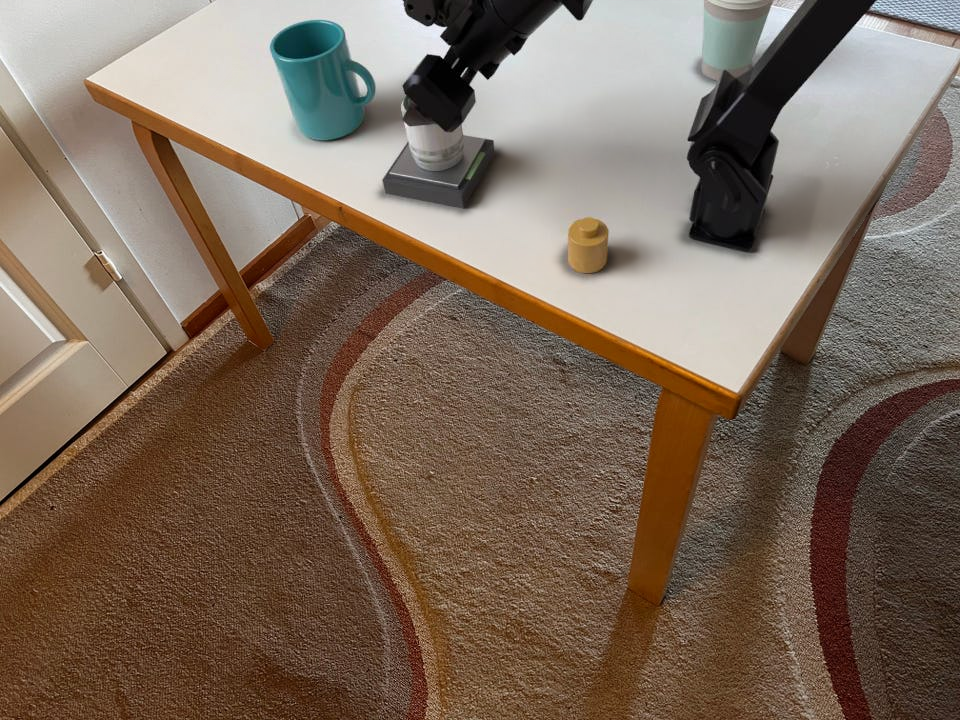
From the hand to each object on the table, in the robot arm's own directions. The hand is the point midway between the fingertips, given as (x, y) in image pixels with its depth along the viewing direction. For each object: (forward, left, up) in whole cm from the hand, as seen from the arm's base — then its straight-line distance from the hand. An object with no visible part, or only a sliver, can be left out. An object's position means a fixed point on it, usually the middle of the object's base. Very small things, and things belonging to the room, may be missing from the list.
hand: (424, 96), depth 77 cm
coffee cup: (-26, -30, -10) cm, 41 cm away
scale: (0, 0, -10) cm, 10 cm away
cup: (+17, -5, -10) cm, 20 cm away
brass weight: (-21, +7, -10) cm, 25 cm away
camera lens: (-1, 0, -8) cm, 8 cm away
